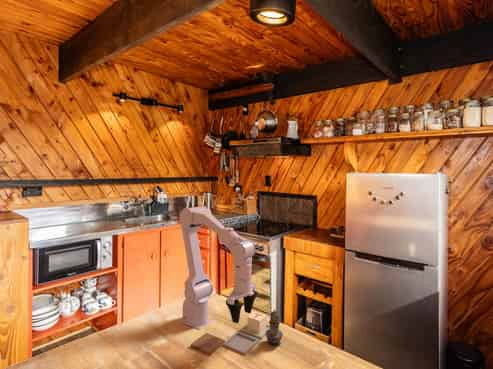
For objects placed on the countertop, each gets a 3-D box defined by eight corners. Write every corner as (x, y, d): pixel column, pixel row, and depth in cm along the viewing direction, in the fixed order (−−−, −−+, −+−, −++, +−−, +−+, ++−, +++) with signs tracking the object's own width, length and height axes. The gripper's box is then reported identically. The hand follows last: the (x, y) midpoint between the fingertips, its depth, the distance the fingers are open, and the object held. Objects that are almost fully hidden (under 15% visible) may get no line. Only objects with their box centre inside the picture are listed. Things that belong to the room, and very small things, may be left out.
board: (190, 346, 97) (190, 344, 97) (206, 335, 104) (206, 332, 104) (209, 355, 93) (209, 352, 93) (224, 343, 100) (224, 340, 100)
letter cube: (247, 330, 107) (247, 316, 107) (254, 324, 111) (254, 311, 111) (259, 334, 105) (259, 320, 104) (266, 328, 109) (266, 314, 109)
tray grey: (222, 346, 98) (222, 343, 98) (237, 333, 105) (237, 331, 105) (245, 356, 93) (245, 353, 93) (259, 342, 101) (259, 339, 101)
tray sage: (239, 331, 107) (239, 329, 107) (252, 321, 114) (252, 318, 114) (261, 339, 102) (261, 337, 102) (273, 328, 109) (273, 325, 109)
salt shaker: (281, 350, 96) (282, 314, 96) (263, 347, 98) (264, 312, 97) (283, 340, 102) (284, 306, 101) (266, 337, 103) (267, 304, 103)
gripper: (240, 287, 90) (240, 330, 90) (263, 273, 102) (262, 311, 103) (222, 282, 93) (221, 323, 94) (246, 269, 106) (245, 306, 106)
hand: (241, 317), depth 99 cm, fingers open, 7 cm apart
